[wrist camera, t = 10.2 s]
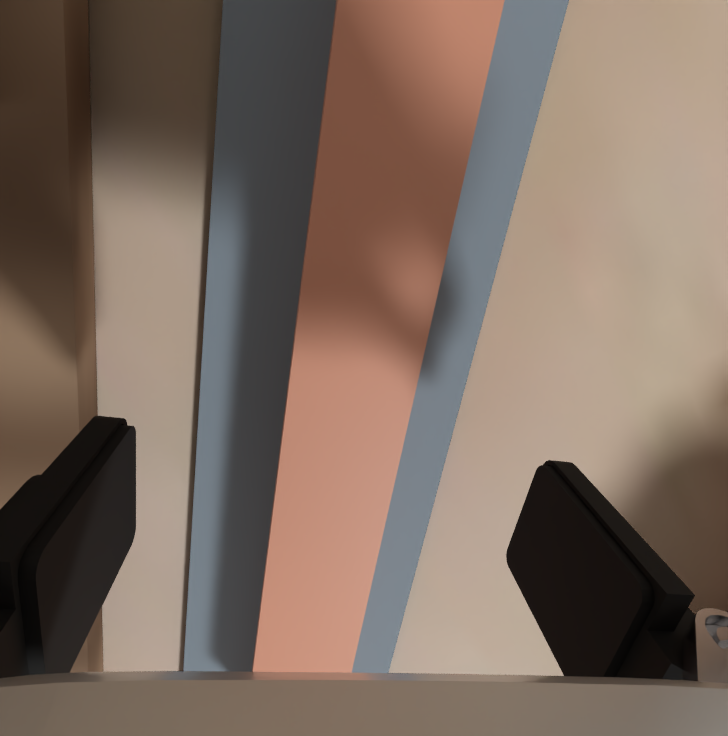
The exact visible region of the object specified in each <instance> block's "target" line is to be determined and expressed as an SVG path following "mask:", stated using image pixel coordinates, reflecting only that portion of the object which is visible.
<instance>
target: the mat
mask: <svg viewBox="0 0 728 736" xmlns="http://www.w3.org/2000/svg"><path fill="white" fill-rule="evenodd" d="M568 1H569V0H505V1H504V5H503V10H502V14H501V18H500V23H499V27H498V31H497V36H496V40H495V45H494V49H493V53H492V58H491V62H490V67H489V71H488V75H487V80H486V84H485V89H484V93H483V97H482V102H481V106H480V111H479V115H478V119H477V124H476V128H475V132H474V137H473V141H472V146H471V150H470V154H469V159H468V163H467V168H466V172H465V176H464V181H463V185H462V190H461V194H460V198H459V203H458V207H457V212H456V216H455V220H454V225H453V229H452V233H451V238H450V242H449V247H448V251H447V255H446V260H445V264H444V269H443V273H442V277H441V282H440V286H439V291H438V295H437V299H436V304H435V308H434V313H433V317H432V321H431V326H430V330H429V334H428V339H427V343H426V348H425V352H424V356H423V361H422V365H421V370H420V374H419V378H418V383H417V387H416V392H415V396H414V400H413V405H412V409H411V413H410V418H409V422H408V427H407V431H406V435H405V440H404V444H403V449H402V453H401V457H400V462H399V466H398V471H397V475H396V479H395V484H394V488H393V493H392V497H391V501H390V506H389V510H388V514H387V519H386V523H385V528H384V532H383V536H382V541H381V545H380V550H379V554H378V558H377V563H376V567H375V572H374V576H373V580H372V585H371V589H370V594H369V598H368V602H367V607H366V611H365V615H364V620H363V624H362V629H361V633H360V637H359V642H358V646H357V651H356V655H355V659H354V664H353V668H352V673H388V672H389V668H390V664H391V661H392V657H393V653H394V649H395V646H396V642H397V638H398V634H399V631H400V627H401V623H402V620H403V616H404V612H405V608H406V605H407V601H408V597H409V594H410V590H411V586H412V582H413V579H414V575H415V571H416V567H417V564H418V560H419V556H420V553H421V549H422V545H423V541H424V538H425V534H426V530H427V526H428V523H429V519H430V515H431V512H432V508H433V504H434V500H435V497H436V493H437V489H438V486H439V482H440V478H441V474H442V471H443V467H444V463H445V459H446V456H447V452H448V448H449V445H450V441H451V437H452V433H453V430H454V426H455V422H456V418H457V415H458V411H459V407H460V404H461V400H462V396H463V392H464V389H465V385H466V381H467V378H468V374H469V370H470V366H471V363H472V359H473V355H474V351H475V348H476V344H477V340H478V337H479V333H480V329H481V325H482V322H483V318H484V314H485V310H486V307H487V303H488V299H489V296H490V292H491V288H492V284H493V281H494V277H495V273H496V270H497V266H498V262H499V258H500V255H501V251H502V247H503V243H504V240H505V236H506V232H507V229H508V225H509V221H510V217H511V214H512V210H513V206H514V202H515V199H516V195H517V191H518V188H519V184H520V180H521V176H522V173H523V169H524V165H525V162H526V158H527V154H528V150H529V147H530V143H531V139H532V135H533V132H534V128H535V124H536V121H537V117H538V113H539V109H540V106H541V102H542V98H543V94H544V91H545V87H546V83H547V80H548V76H549V72H550V68H551V65H552V61H553V57H554V54H555V50H556V46H557V42H558V39H559V35H560V31H561V27H562V24H563V20H564V16H565V13H566V9H567V5H568ZM335 6H336V0H223V10H222V27H221V44H220V60H219V77H218V94H217V111H216V128H215V145H214V162H213V179H212V196H211V213H210V229H209V246H208V263H207V280H206V297H205V314H204V331H203V348H202V365H201V382H200V399H199V415H198V432H197V449H196V466H195V483H194V500H193V517H192V534H191V551H190V568H189V585H188V601H187V618H186V635H185V652H184V669H183V671H234V672H252V666H253V659H254V651H255V643H256V635H257V627H258V619H259V611H260V603H261V595H262V587H263V579H264V571H265V563H266V555H267V547H268V539H269V531H270V523H271V515H272V507H273V499H274V491H275V484H276V476H277V468H278V460H279V452H280V444H281V436H282V428H283V420H284V412H285V404H286V396H287V388H288V380H289V372H290V364H291V356H292V348H293V340H294V332H295V324H296V317H297V309H298V301H299V293H300V285H301V277H302V269H303V261H304V253H305V245H306V237H307V229H308V221H309V213H310V205H311V197H312V189H313V181H314V173H315V165H316V157H317V150H318V142H319V134H320V126H321V118H322V110H323V102H324V94H325V86H326V78H327V70H328V62H329V54H330V46H331V38H332V30H333V22H334V14H335Z"/></svg>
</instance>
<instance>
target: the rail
mask: <svg viewBox="0 0 728 736" xmlns="http://www.w3.org/2000/svg"><path fill="white" fill-rule="evenodd" d="M504 1H505V0H336V6H335V14H334V22H333V30H332V38H331V46H330V54H329V62H328V70H327V78H326V86H325V94H324V102H323V110H322V118H321V126H320V134H319V142H318V150H317V157H316V165H315V173H314V181H313V189H312V197H311V205H310V213H309V221H308V229H307V237H306V245H305V253H304V261H303V269H302V277H301V285H300V293H299V301H298V309H297V317H296V324H295V332H294V340H293V348H292V356H291V364H290V372H289V380H288V388H287V396H286V404H285V412H284V420H283V428H282V436H281V444H280V452H279V460H278V468H277V476H276V484H275V491H274V499H273V507H272V515H271V523H270V531H269V539H268V547H267V555H266V563H265V571H264V579H263V587H262V595H261V603H260V611H259V619H258V627H257V635H256V643H255V651H254V659H253V666H252V672H344V673H352V668H353V664H354V659H355V655H356V651H357V646H358V642H359V637H360V633H361V629H362V624H363V620H364V615H365V611H366V607H367V602H368V598H369V594H370V589H371V585H372V580H373V576H374V572H375V567H376V563H377V558H378V554H379V550H380V545H381V541H382V536H383V532H384V528H385V523H386V519H387V514H388V510H389V506H390V501H391V497H392V493H393V488H394V484H395V479H396V475H397V471H398V466H399V462H400V457H401V453H402V449H403V444H404V440H405V435H406V431H407V427H408V422H409V418H410V413H411V409H412V405H413V400H414V396H415V392H416V387H417V383H418V378H419V374H420V370H421V365H422V361H423V356H424V352H425V348H426V343H427V339H428V334H429V330H430V326H431V321H432V317H433V313H434V308H435V304H436V299H437V295H438V291H439V286H440V282H441V277H442V273H443V269H444V264H445V260H446V255H447V251H448V247H449V242H450V238H451V233H452V229H453V225H454V220H455V216H456V212H457V207H458V203H459V198H460V194H461V190H462V185H463V181H464V176H465V172H466V168H467V163H468V159H469V154H470V150H471V146H472V141H473V137H474V132H475V128H476V124H477V119H478V115H479V111H480V106H481V102H482V97H483V93H484V89H485V84H486V80H487V75H488V71H489V67H490V62H491V58H492V53H493V49H494V45H495V40H496V36H497V31H498V27H499V23H500V18H501V14H502V10H503V5H504Z"/></svg>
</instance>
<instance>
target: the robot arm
mask: <svg viewBox="0 0 728 736" xmlns="http://www.w3.org/2000/svg"><path fill="white" fill-rule="evenodd" d="M135 530H136V430H135V427H134V426H127V422H126V420H125V419H124V418H114V417H104V416H94V417H93V418H92V419H91V420H90V421H89V422H88V423H87V425H86V426H85V427H84V428H83V429H82V430H81V431H80V432H79V433H78V435H77V436H76V437H75V438H74V439H73V440H72V441H71V442H70V443H69V445H68V446H67V447H66V448H65V449H64V450H63V451H62V452H61V453H60V454H59V456H58V457H57V458H56V459H55V460H54V461H53V462H52V463H51V464H50V466H49V467H48V468H47V469H46V470H45V471H44V472H43V473H42V474H41V475H35V476H32V477H31V478H30V479H28V480H27V481H26V482H25V483H24V484H23V485H22V487H21V488H20V489H19V490H18V491H17V492H16V493H15V494H14V495H13V496H12V497H11V498H10V499H9V500H8V502H7V503H6V504H5V505H4V506H3V507H2V508H1V509H0V736H728V612H726V611H723V610H719V609H714V608H703V609H701V610H699V611H698V612H697V613H696V615H694V613H693V612H692V611H691V610H690V609H689V608H688V606H689V605H690V603H691V601H692V599H693V598H694V596H695V595H694V594H693V593H692V592H691V590H690V589H689V588H688V587H687V586H686V585H685V584H684V583H683V582H682V581H681V580H680V579H679V577H678V576H677V575H676V574H675V573H674V572H673V571H672V570H671V569H670V568H669V567H668V566H667V564H666V563H665V562H664V561H663V560H662V559H661V558H660V557H659V556H658V555H657V554H656V552H655V551H654V550H653V549H652V548H651V547H650V546H649V545H648V544H647V543H646V542H645V541H644V539H643V538H642V537H641V536H640V535H639V534H638V533H637V532H636V531H635V530H634V529H633V528H632V526H631V525H630V524H629V523H628V522H627V521H626V520H625V519H624V518H623V517H622V516H621V515H620V513H619V512H618V511H617V510H616V509H615V508H614V507H613V506H612V505H611V504H610V503H609V501H608V500H607V499H606V498H605V497H604V496H603V495H602V494H601V493H600V492H599V491H598V490H597V488H596V487H595V486H594V485H593V484H592V483H591V482H590V481H589V480H588V479H587V478H586V477H585V475H584V474H583V473H582V472H581V471H580V470H579V469H578V468H577V467H576V466H575V465H574V464H573V463H570V462H561V461H551V460H549V461H546V462H545V463H544V464H543V466H542V465H541V466H539V467H538V468H537V470H536V472H535V475H534V478H533V481H532V483H531V486H530V489H529V492H528V494H527V497H526V500H525V502H524V505H523V508H522V511H521V513H520V516H519V519H518V522H517V524H516V527H515V530H514V533H513V535H512V538H511V541H510V544H509V546H508V549H507V555H506V557H507V564H508V566H509V568H510V570H511V572H512V574H513V576H514V578H515V580H516V582H517V584H518V586H519V588H520V590H521V592H522V594H523V596H524V598H525V600H526V602H527V604H528V606H529V608H530V610H531V612H532V614H533V615H534V617H535V619H536V621H537V623H538V625H539V627H540V629H541V631H542V633H543V635H544V637H545V639H546V641H547V643H548V645H549V647H550V649H551V651H552V653H553V655H554V657H555V659H556V661H557V662H558V664H559V666H560V668H561V670H562V672H563V674H564V676H530V675H479V674H416V673H344V672H234V671H144V672H76V673H70V671H71V669H72V667H73V664H74V662H75V660H76V658H77V656H78V654H79V652H80V650H81V648H82V646H83V644H84V642H85V640H86V638H87V636H88V634H89V632H90V629H91V627H92V625H93V623H94V621H95V619H96V617H97V615H98V613H99V611H100V609H101V607H102V605H103V603H104V601H105V599H106V597H107V594H108V592H109V590H110V588H111V586H112V584H113V582H114V580H115V578H116V576H117V574H118V572H119V570H120V568H121V566H122V564H123V561H124V559H125V557H126V555H127V553H128V551H129V549H130V547H131V545H132V542H133V539H134V535H135Z"/></svg>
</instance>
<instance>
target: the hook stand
mask: <svg viewBox="0 0 728 736" xmlns="http://www.w3.org/2000/svg"><path fill="white" fill-rule="evenodd" d="M94 416H97V371H96V327H95V283H94V238H93V194H92V149H91V105H90V61H89V16H88V0H0V509H1V508H2V507H3V506H4V505H5V504H6V503H7V502H8V500H9V499H10V498H11V497H12V496H13V495H14V494H15V493H16V492H17V491H18V490H19V489H20V488H21V487H22V485H23V484H24V483H25V482H26V481H27V480H28V479H30V478H31V477H32V476H35V475H41V474H42V473H43V472H44V471H45V470H46V469H47V468H48V467H49V466H50V464H51V463H52V462H53V461H54V460H55V459H56V458H57V457H58V456H59V454H60V453H61V452H62V451H63V450H64V449H65V448H66V447H67V446H68V445H69V443H70V442H71V441H72V440H73V439H74V438H75V437H76V436H77V435H78V433H79V432H80V431H81V430H82V429H83V428H84V427H85V426H86V425H87V423H88V422H89V421H90V420H91V419H92V418H93V417H94ZM76 672H103V637H102V607H101V609H100V611H99V613H98V615H97V617H96V619H95V621H94V623H93V625H92V627H91V629H90V632H89V634H88V636H87V638H86V640H85V642H84V644H83V646H82V648H81V650H80V652H79V654H78V656H77V658H76V660H75V662H74V664H73V667H72V669H71V671H70V673H76Z"/></svg>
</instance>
